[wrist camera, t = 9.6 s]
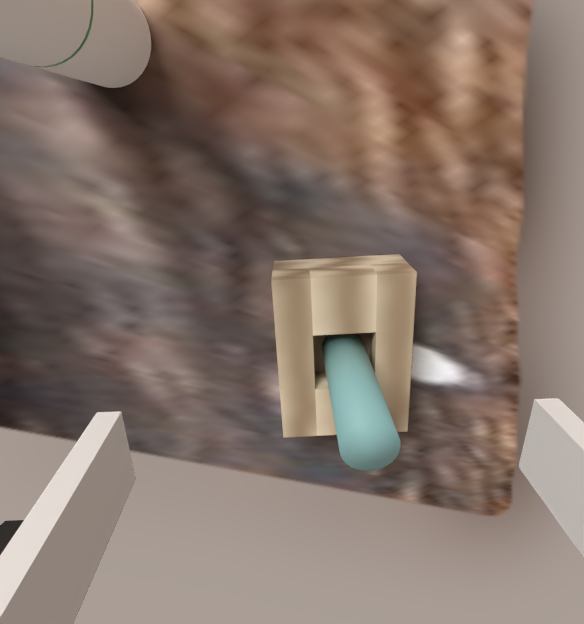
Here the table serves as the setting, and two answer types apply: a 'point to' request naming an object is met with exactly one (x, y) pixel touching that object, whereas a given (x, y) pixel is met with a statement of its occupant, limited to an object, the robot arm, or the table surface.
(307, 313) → the block
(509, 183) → the table surface
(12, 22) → the cylindrical container
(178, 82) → the table surface
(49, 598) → the robot arm
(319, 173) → the table surface
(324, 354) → the pin
